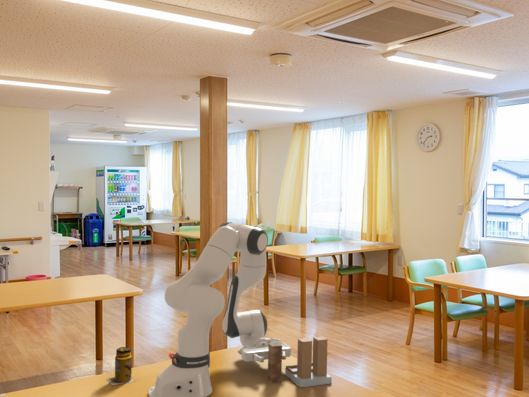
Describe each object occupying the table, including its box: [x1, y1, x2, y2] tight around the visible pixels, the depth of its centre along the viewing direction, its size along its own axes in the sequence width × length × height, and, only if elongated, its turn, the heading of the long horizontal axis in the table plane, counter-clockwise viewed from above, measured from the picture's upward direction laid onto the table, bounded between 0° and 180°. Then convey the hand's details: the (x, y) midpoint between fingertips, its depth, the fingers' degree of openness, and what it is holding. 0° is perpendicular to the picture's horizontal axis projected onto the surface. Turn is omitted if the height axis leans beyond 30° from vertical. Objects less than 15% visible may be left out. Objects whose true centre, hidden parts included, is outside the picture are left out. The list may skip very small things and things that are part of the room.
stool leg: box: [267, 342, 283, 384], centre depth 193 cm, size 4×4×14 cm
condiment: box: [106, 346, 135, 386], centre depth 190 cm, size 7×8×12 cm
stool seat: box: [284, 335, 333, 389], centre depth 195 cm, size 13×14×16 cm
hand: (273, 358), depth 194 cm, fingers open, 8 cm apart
